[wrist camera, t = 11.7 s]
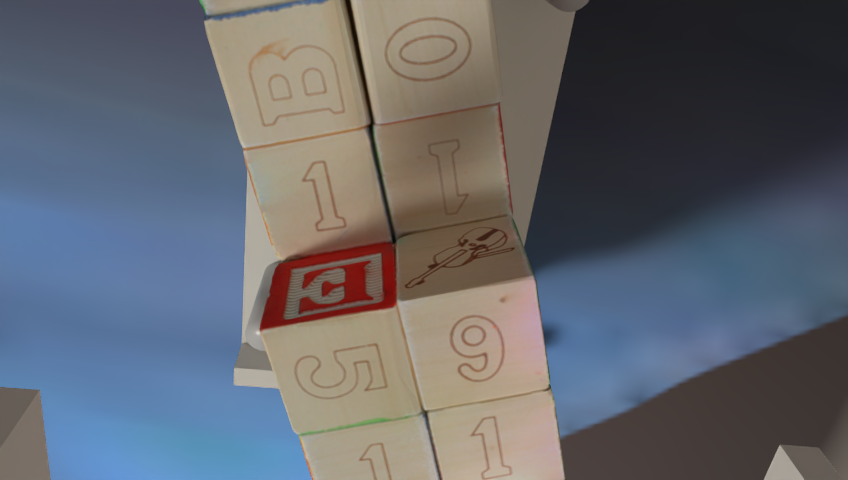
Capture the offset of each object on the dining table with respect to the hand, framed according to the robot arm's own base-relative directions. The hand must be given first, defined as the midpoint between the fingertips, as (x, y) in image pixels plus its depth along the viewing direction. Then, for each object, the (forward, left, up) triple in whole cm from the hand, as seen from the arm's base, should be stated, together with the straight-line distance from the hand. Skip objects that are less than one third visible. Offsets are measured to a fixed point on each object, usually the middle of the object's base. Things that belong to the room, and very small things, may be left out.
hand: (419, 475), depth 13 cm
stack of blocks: (0, 0, -16) cm, 16 cm away
